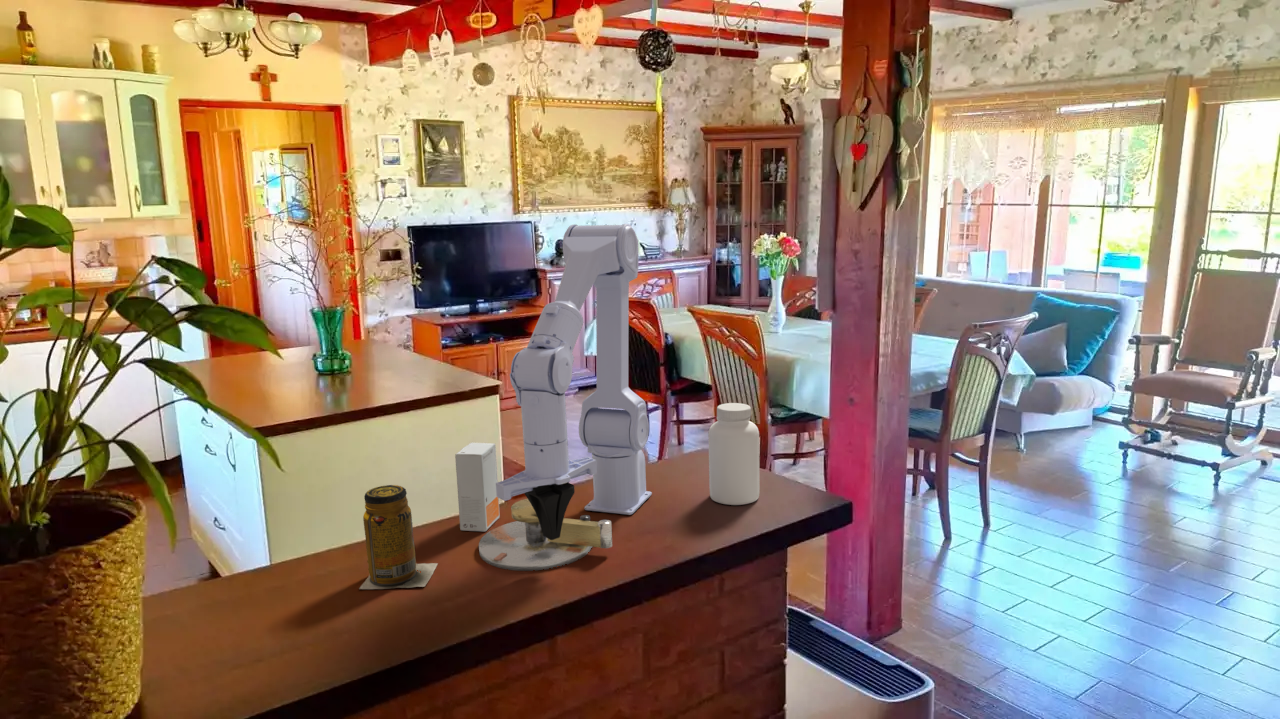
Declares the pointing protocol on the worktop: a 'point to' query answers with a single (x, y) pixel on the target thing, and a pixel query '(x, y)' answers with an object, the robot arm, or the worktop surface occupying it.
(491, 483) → the skincare box
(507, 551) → the grey round base plate
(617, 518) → the worktop surface
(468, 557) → the worktop surface
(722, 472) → the pill bottle
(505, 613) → the worktop surface
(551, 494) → the robot arm
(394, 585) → the condiment
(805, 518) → the worktop surface
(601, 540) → the brass latch lever
